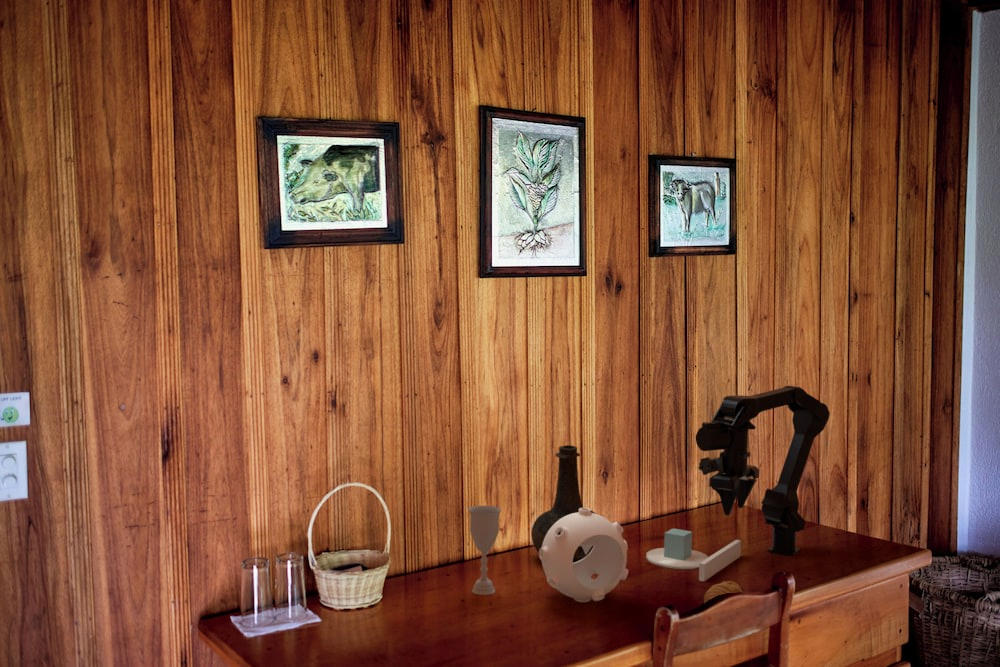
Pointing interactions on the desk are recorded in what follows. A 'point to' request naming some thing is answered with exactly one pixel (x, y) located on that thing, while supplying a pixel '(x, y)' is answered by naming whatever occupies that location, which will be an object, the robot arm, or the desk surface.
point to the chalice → (484, 540)
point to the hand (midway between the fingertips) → (733, 511)
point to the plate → (690, 563)
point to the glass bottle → (562, 499)
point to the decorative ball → (601, 560)
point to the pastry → (722, 590)
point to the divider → (719, 560)
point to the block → (678, 544)
